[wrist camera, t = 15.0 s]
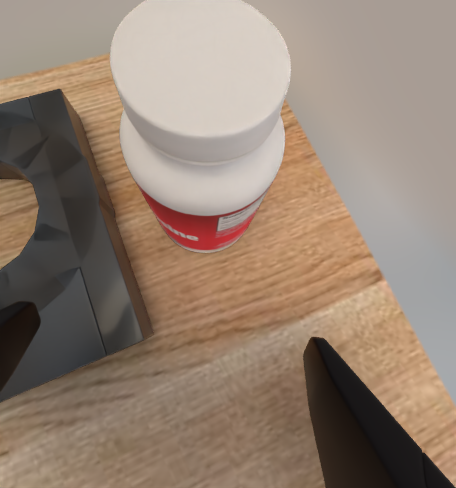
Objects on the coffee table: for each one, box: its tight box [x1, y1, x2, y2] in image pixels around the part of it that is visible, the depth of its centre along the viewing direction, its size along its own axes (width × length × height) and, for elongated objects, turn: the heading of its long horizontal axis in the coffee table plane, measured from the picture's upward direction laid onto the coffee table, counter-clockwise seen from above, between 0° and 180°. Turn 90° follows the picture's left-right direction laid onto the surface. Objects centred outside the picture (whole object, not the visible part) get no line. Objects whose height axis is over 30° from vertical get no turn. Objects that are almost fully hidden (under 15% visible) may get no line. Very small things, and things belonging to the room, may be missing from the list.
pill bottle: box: [110, 0, 291, 253], centre depth 12 cm, size 6×6×11 cm
